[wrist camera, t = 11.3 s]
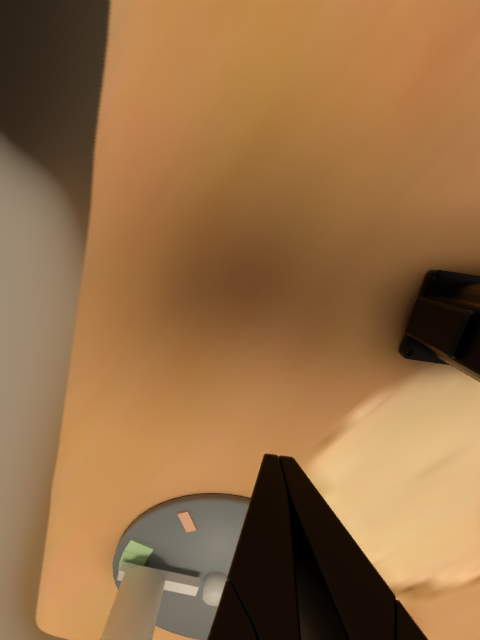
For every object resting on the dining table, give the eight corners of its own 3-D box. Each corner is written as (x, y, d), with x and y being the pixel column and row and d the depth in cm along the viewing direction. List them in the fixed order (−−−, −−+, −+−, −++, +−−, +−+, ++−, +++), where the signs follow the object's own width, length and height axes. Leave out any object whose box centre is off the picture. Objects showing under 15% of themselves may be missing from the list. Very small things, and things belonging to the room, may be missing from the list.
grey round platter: (341, 508, 24) (351, 534, 22) (295, 640, 30) (298, 670, 28) (117, 480, 23) (104, 503, 21) (116, 619, 29) (106, 649, 27)
